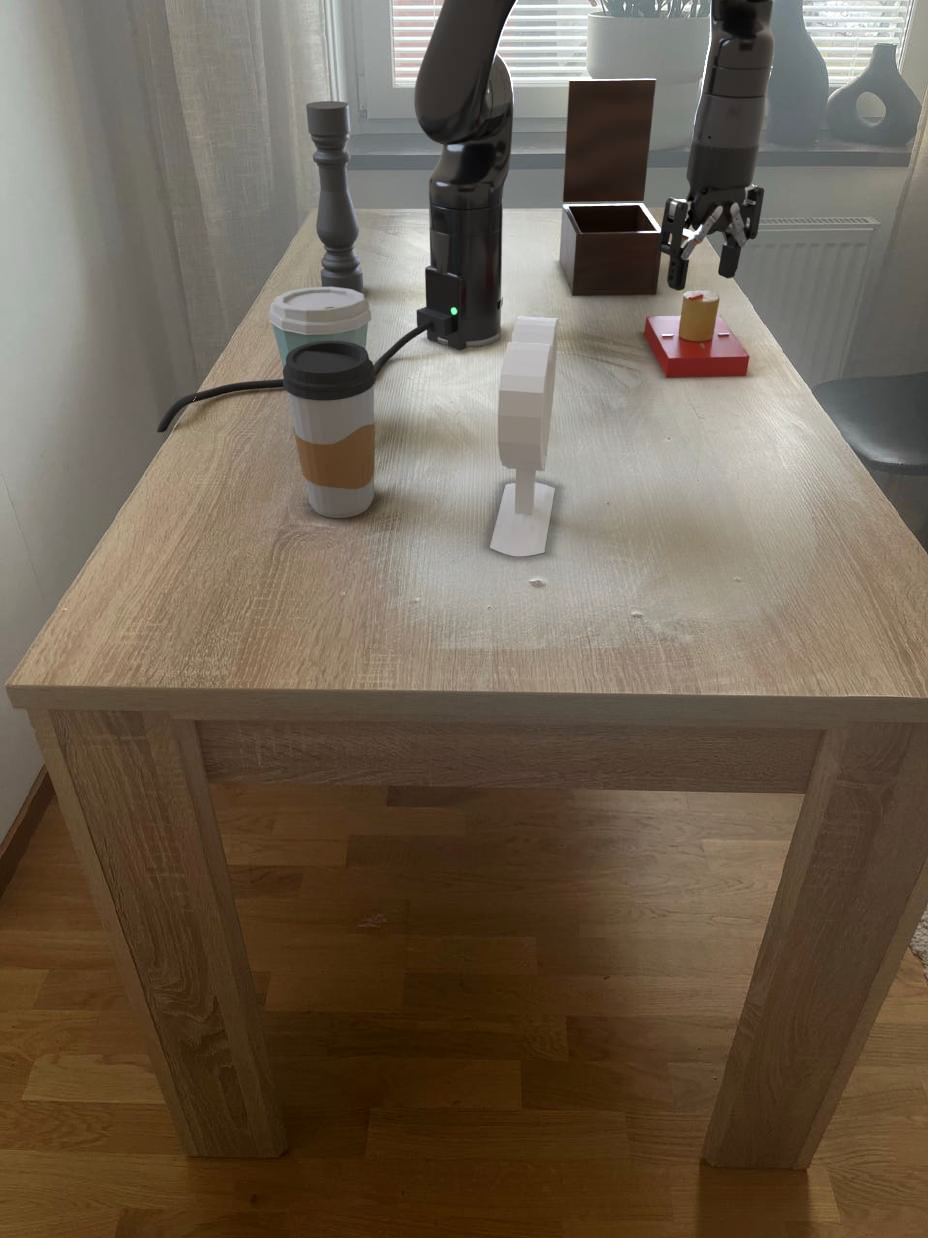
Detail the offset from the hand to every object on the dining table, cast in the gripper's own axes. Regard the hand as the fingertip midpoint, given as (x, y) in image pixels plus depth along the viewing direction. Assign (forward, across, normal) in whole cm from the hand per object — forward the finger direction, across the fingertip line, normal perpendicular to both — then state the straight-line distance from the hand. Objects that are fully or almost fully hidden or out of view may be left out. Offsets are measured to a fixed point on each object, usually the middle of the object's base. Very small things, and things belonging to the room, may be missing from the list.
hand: (701, 282), depth 114 cm
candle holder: (+10, -27, +45) cm, 54 cm away
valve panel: (+9, 0, -1) cm, 9 cm away
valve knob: (+6, 0, -1) cm, 6 cm away
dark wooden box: (+9, +10, +29) cm, 32 cm away
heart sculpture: (+9, -42, -20) cm, 47 cm away
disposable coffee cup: (+10, -48, +7) cm, 50 cm away
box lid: (-8, +14, +35) cm, 39 cm away
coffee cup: (+10, -55, -8) cm, 56 cm away
